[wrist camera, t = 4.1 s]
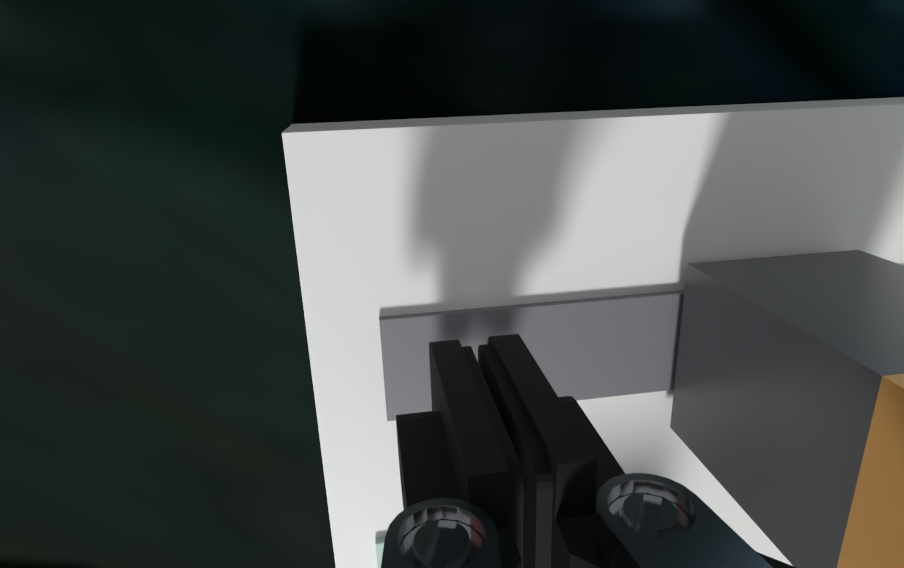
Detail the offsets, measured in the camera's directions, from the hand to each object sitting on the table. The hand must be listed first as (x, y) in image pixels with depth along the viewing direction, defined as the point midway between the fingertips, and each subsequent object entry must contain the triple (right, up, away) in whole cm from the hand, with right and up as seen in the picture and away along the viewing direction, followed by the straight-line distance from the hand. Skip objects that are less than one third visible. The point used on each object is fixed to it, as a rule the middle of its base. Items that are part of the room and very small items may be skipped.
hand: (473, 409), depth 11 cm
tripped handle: (+7, +1, +2) cm, 7 cm away
